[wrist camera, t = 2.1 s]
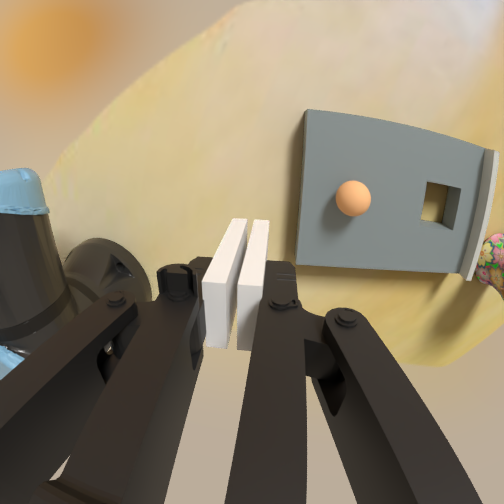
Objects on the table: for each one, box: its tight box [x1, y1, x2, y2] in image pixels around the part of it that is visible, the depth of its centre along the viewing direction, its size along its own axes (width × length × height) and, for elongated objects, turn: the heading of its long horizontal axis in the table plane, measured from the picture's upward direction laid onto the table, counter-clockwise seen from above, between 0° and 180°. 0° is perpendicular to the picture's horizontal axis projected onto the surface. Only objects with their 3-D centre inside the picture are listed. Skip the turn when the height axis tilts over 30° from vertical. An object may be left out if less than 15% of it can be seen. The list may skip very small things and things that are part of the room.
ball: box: [336, 180, 371, 216], centre depth 27 cm, size 4×4×4 cm
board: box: [295, 109, 499, 281], centre depth 28 cm, size 24×17×5 cm
